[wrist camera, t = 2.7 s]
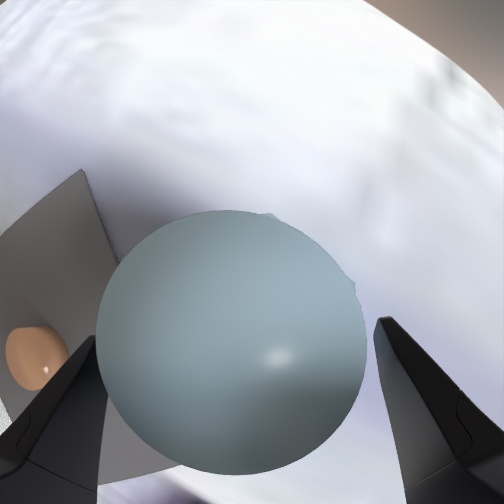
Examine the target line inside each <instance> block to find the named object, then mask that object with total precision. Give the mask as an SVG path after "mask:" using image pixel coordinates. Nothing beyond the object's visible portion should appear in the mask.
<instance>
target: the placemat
mask: <svg viewBox="0 0 504 504" xmlns="http://www.w3.org/2000/svg"><path fill="white" fill-rule="evenodd" d="M118 266H119V264H118V261H117V259H116V257H115V254H114V252H113V249H112V247H111V244H110V242H109V239H108V237H107V234H106V232H105V229H104V226H103V224H102V221H101V218H100V216H99V213H98V210H97V208H96V205H95V202H94V199H93V196H92V193H91V190H90V187H89V184H88V181H87V178H86V175H85V172H84V171H83V170H82V169H81V170H79V171H78V172H77V173H75V174H74V175H73V176H71V177H70V178H69V179H67V180H66V181H65V182H63V183H62V184H61V185H60V186H58V187H57V188H56V189H54V190H53V191H52V192H51V193H49V194H48V195H47V196H46V197H45V198H43V199H42V200H41V201H40V202H38V203H37V204H36V205H35V206H34V207H32V208H31V209H30V210H29V211H28V212H27V213H26V214H24V215H23V216H22V217H21V218H20V219H19V220H18V221H16V222H15V223H14V224H13V225H12V226H11V227H10V228H9V229H8V230H7V231H6V232H4V233H3V234H2V235H1V236H0V398H1V400H2V402H3V404H4V406H5V408H6V411H7V413H8V415H9V417H10V419H11V421H12V423H13V422H14V421H15V420H16V419H17V417H18V416H19V415H20V414H21V413H22V412H23V410H24V409H25V408H26V407H27V406H28V404H30V402H31V401H32V400H33V399H34V397H35V396H36V395H37V394H38V393H39V392H40V390H41V389H42V388H41V389H38V390H35V391H30V390H27V389H25V388H23V387H22V386H21V385H20V384H19V383H18V382H17V381H16V380H15V379H14V377H13V375H12V374H11V372H10V369H9V367H8V364H7V359H6V342H7V339H8V336H9V334H10V333H11V332H12V331H13V330H15V329H17V328H25V327H36V326H49V327H51V328H53V329H54V330H56V331H57V332H58V333H59V334H60V336H61V337H62V338H63V340H64V342H65V344H66V346H67V349H68V353H69V357H70V356H71V355H72V354H73V353H74V352H75V351H76V349H77V348H78V347H79V346H80V345H81V344H82V343H83V342H84V341H85V340H86V339H87V337H89V336H90V335H96V324H97V317H98V312H99V307H100V303H101V300H102V297H103V294H104V292H105V289H106V287H107V285H108V283H109V281H110V279H111V277H112V275H113V273H114V272H115V270H116V269H117V267H118ZM178 465H182V464H180V463H177V462H175V461H173V460H171V459H169V458H167V457H166V456H164V455H162V454H161V453H159V452H157V451H156V450H154V449H153V448H152V447H151V446H149V445H148V444H147V443H145V442H144V441H143V440H142V439H141V438H140V437H139V436H138V435H137V434H136V433H135V432H134V431H133V430H132V429H131V428H130V427H129V426H128V425H127V423H126V422H125V421H124V420H123V418H122V417H121V416H120V414H119V413H118V411H117V409H116V408H115V406H114V405H113V403H112V401H111V399H110V397H109V395H108V401H107V408H106V414H105V421H104V429H103V436H102V445H101V453H100V463H99V474H98V485H102V484H107V483H112V482H117V481H122V480H126V479H130V478H135V477H139V476H143V475H147V474H151V473H154V472H158V471H161V470H165V469H168V468H172V467H175V466H178Z"/></svg>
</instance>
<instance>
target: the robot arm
mask: <svg viewBox="0 0 504 504" xmlns="http://www.w3.org/2000/svg"><path fill="white" fill-rule="evenodd" d="M373 340H374V346H375V352H376V358H377V365H378V371H379V378H380V383H381V387H382V391H383V395H384V399H385V403H386V407H387V411H388V415H389V419H390V423H391V427H392V432H393V436H394V441H395V445H396V450H397V454H398V459H399V464H400V469H401V474H402V479H403V485H404V489H405V490H404V491H405V497H406V502H407V504H504V431H503V430H502V429H500V428H499V427H498V426H497V425H496V424H495V423H494V422H493V421H492V420H490V419H489V418H488V417H487V416H486V415H485V414H484V413H483V412H482V411H481V410H480V409H479V408H478V407H477V406H476V405H475V404H474V403H473V402H472V401H471V400H470V399H469V398H468V397H467V396H466V395H465V393H464V392H463V391H462V390H460V388H459V387H458V386H457V385H456V384H455V383H454V381H453V380H452V379H451V378H450V377H449V376H448V375H447V374H446V373H445V372H444V371H443V370H442V369H441V367H440V366H439V365H438V364H437V363H436V362H435V361H434V360H433V359H432V358H431V357H430V356H429V355H428V354H427V353H426V352H425V351H424V349H423V348H422V347H421V346H420V345H419V344H418V343H417V342H416V341H415V340H414V339H413V338H412V337H411V336H410V335H409V334H408V333H407V332H406V331H405V330H404V329H403V328H402V327H401V326H400V325H399V324H398V323H397V322H396V321H395V320H394V319H393V318H392V317H390V316H387V317H380V318H379V319H378V320H377V323H376V327H375V330H374V334H373ZM107 401H108V393H107V390H106V388H105V386H104V383H103V380H102V377H101V373H100V370H99V365H98V360H97V354H96V335H90V336H89V337H87V339H86V340H85V341H84V342H83V343H82V344H81V345H80V346H79V347H78V348H77V349H76V351H75V352H74V353H73V354H72V355H71V356H70V357H69V358H68V359H67V361H66V362H65V363H64V364H63V365H62V366H61V367H60V368H59V370H58V371H57V372H56V373H55V374H54V375H53V376H52V378H51V379H50V380H49V381H48V382H47V383H46V385H45V386H44V387H43V388H42V389H41V390H40V392H39V393H38V394H37V395H36V396H35V397H34V399H33V400H32V401H31V402H30V404H28V406H27V407H26V408H25V409H24V410H23V412H22V413H21V414H20V415H19V416H18V417H17V419H16V420H15V421H14V422H13V423H12V424H11V425H10V426H9V427H8V428H7V429H6V430H5V431H4V432H3V433H2V434H1V435H0V504H97V487H98V474H99V463H100V453H101V445H102V436H103V429H104V421H105V414H106V408H107Z"/></svg>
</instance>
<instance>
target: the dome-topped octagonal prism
mask: <svg viewBox="0 0 504 504" xmlns="http://www.w3.org/2000/svg"><path fill="white" fill-rule="evenodd" d="M96 354H97V360H98V365H99V370H100V373H101V377H102V380H103V383H104V386H105V388H106V390H107V393H108V395H109V397H110V399H111V401H112V403H113V405H114V406H115V408H116V409H117V411H118V413H119V414H120V416H121V417H122V418H123V420H124V421H125V422H126V423H127V425H128V426H129V427H130V428H131V429H132V430H133V431H134V432H135V433H136V434H137V435H138V436H139V437H140V438H141V439H142V440H143V441H144V442H145V443H147V444H148V445H149V446H151V447H152V448H153V449H154V450H156V451H157V452H159V453H161V454H162V455H164V456H166V457H167V458H169V459H171V460H173V461H175V462H177V463H180V464H182V465H184V466H187V467H190V468H193V469H196V470H200V471H203V472H209V473H214V474H222V475H249V474H257V473H262V472H267V471H271V470H274V469H278V468H281V467H284V466H286V465H289V464H291V463H293V462H295V461H297V460H299V459H301V458H303V457H304V456H306V455H307V454H309V453H311V452H312V451H314V450H315V449H316V448H318V447H319V446H320V445H321V444H322V443H324V442H325V441H326V440H327V439H328V438H329V437H330V436H331V435H332V434H333V433H334V432H335V431H336V429H337V428H338V427H339V426H340V425H341V423H342V422H343V421H344V419H345V418H346V416H347V415H348V413H349V412H350V410H351V408H352V406H353V404H354V402H355V400H356V398H357V396H358V393H359V390H360V387H361V384H362V381H363V377H364V372H365V366H366V360H367V337H366V328H365V321H364V318H363V314H362V310H361V306H360V303H359V301H358V299H357V296H356V290H355V283H354V282H353V281H352V280H351V279H350V278H349V277H347V276H346V275H345V273H344V272H343V270H342V269H341V268H340V267H339V265H338V264H337V263H336V262H335V260H334V259H333V258H332V257H331V256H330V255H329V254H328V253H327V252H326V251H325V250H324V249H323V248H322V247H321V246H320V245H319V244H318V243H317V242H315V241H314V240H312V239H311V238H310V237H308V236H307V235H305V234H304V233H303V232H301V231H299V230H297V229H296V228H294V227H292V226H290V225H288V224H286V223H284V222H281V221H280V220H279V219H278V218H277V217H275V216H274V215H273V214H272V213H267V214H256V213H251V212H244V211H233V210H223V211H209V212H203V213H197V214H193V215H189V216H186V217H183V218H180V219H177V220H175V221H173V222H170V223H168V224H166V225H164V226H162V227H160V228H159V229H157V230H156V231H154V232H152V233H151V234H149V235H148V236H146V237H145V238H144V239H143V240H142V241H141V242H139V243H138V244H137V245H136V246H135V247H134V248H133V249H132V250H131V251H130V252H129V253H128V254H127V255H126V257H125V258H124V259H123V260H122V261H121V263H120V264H119V266H118V267H117V269H116V270H115V272H114V273H113V275H112V277H111V279H110V281H109V283H108V285H107V287H106V289H105V292H104V294H103V297H102V300H101V303H100V307H99V312H98V317H97V324H96Z"/></svg>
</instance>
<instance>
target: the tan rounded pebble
mask: <svg viewBox="0 0 504 504" xmlns="http://www.w3.org/2000/svg"><path fill="white" fill-rule="evenodd" d="M68 358H69V353H68V349H67V346H66V344H65V342H64V340H63V338H62V337H61V336H60V334H59V333H58V332H57V331H56V330H54V329H53V328H51V327H49V326H36V327H25V328H17V329H15V330H13V331H12V332H11V333H10V334H9V336H8V339H7V342H6V359H7V364H8V367H9V369H10V372H11V374H12V375H13V377H14V379H15V380H16V381H17V382H18V383H19V384H20V385H21V386H22V387H23V388H25V389H27V390H30V391H35V390H38V389H41V388H43V387H44V386H45V385H46V383H47V382H48V381H49V380H50V379H51V378H52V376H53V375H54V374H55V373H56V372H57V371H58V370H59V368H60V367H61V366H62V365H63V364H64V363H65V362H66V361H67V359H68Z"/></svg>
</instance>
